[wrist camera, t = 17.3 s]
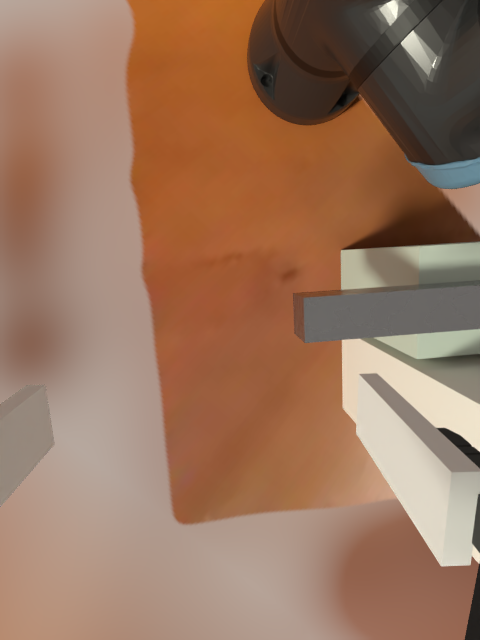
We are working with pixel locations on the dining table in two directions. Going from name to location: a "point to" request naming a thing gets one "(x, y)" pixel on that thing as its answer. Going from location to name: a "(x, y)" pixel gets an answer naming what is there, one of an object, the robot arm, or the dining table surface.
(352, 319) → the steel block
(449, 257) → the two-step stand
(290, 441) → the dining table surface
